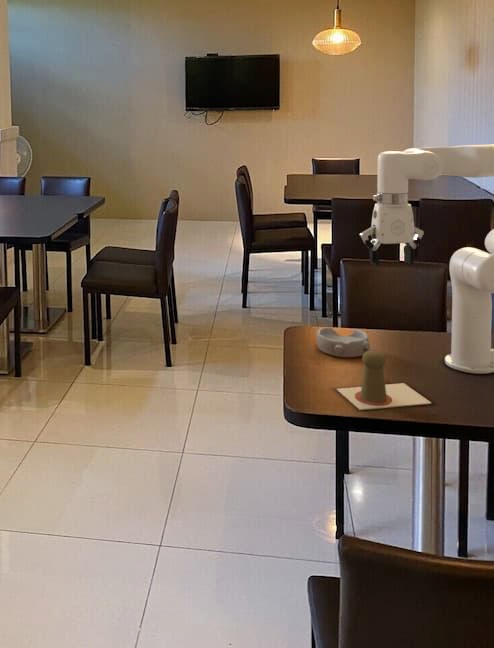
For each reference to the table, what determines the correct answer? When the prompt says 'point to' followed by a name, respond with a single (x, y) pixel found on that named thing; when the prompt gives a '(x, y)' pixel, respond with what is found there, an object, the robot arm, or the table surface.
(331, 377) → the table surface
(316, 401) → the table surface
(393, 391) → the placemat
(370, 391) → the cork
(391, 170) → the robot arm
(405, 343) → the table surface
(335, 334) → the dish
